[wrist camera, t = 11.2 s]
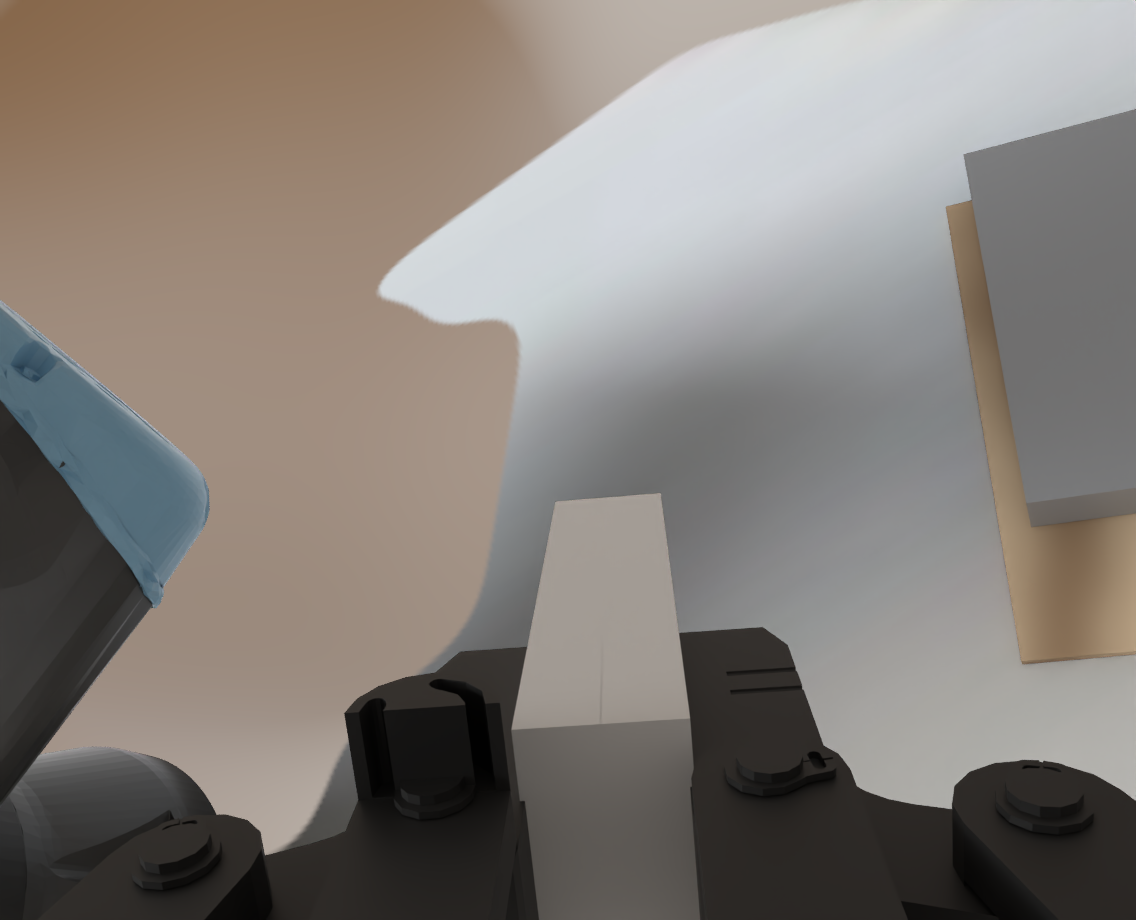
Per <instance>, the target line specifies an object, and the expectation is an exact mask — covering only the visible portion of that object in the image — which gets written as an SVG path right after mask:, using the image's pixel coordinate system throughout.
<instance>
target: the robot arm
mask: <svg viewBox="0 0 1136 920" xmlns="http://www.w3.org/2000/svg"><path fill="white" fill-rule="evenodd" d="M208 514H209V490H208V486H207V484H206V481H205V479H204V477H203V475H202V473H201V472H200V470H199V469H198V468H197V466H196V465H194V463H193V462H192V461H191V460H190V459H189V458H188V457H187V456H186V455H184V454H183V453H182V452H181V451H180V450H179V449H178V448H177V447H175V446H174V445H173V444H172V443H171V442H170V441H169V440H168V439H167V438H165V437H164V436H163V435H162V434H161V433H160V432H159V431H157V430H156V429H155V428H154V427H153V426H151V425H150V424H149V423H148V422H147V421H146V420H145V419H143V418H142V417H141V416H140V415H139V414H137V413H136V412H135V411H134V410H133V409H131V408H130V407H129V406H128V405H127V404H126V403H125V402H123V401H122V400H121V399H120V398H119V397H117V396H116V395H115V394H114V393H113V392H111V391H110V390H109V389H108V388H107V387H106V386H104V385H103V384H102V383H101V382H100V381H98V380H97V379H96V378H95V377H94V376H92V375H91V374H90V373H89V372H88V371H86V370H85V369H84V368H82V367H81V366H80V365H79V364H77V362H75V361H74V360H73V359H72V358H70V357H69V356H68V355H67V354H66V353H64V352H63V351H62V350H61V349H60V348H58V347H57V346H56V345H55V344H54V343H52V342H51V341H50V340H49V339H48V338H47V337H45V336H44V335H43V334H42V333H40V332H39V331H38V330H37V329H36V328H34V327H33V326H32V325H31V324H29V323H28V322H27V321H26V320H25V319H23V318H22V317H21V316H20V315H18V314H17V313H16V312H15V311H13V310H12V309H11V308H10V307H9V306H7V305H6V304H5V303H4V302H2V301H1V300H0V920H1136V801H1135V800H1134V799H1132V798H1131V797H1130V796H1128V795H1127V794H1126V793H1124V792H1123V791H1122V790H1120V789H1119V788H1117V787H1115V786H1113V785H1111V784H1110V783H1108V782H1106V781H1104V780H1103V779H1101V778H1099V777H1097V776H1096V775H1094V774H1090V773H1087V772H1084V771H1080V770H1077V769H1074V768H1071V767H1067V766H1065V765H1063V764H1059V763H1054V762H1047V761H1043V762H1039V760H1020V761H1015V762H1003V763H994V764H991V765H988V766H985V767H982V768H980V769H977V770H974V771H971V772H969V773H968V774H967V775H966V776H965V777H964V778H963V779H962V780H960V781H959V782H958V783H957V784H956V785H955V787H954V794H953V802H952V809H945V808H938V807H930V806H922V805H915V804H909V803H904V802H899V801H894V800H889V799H886V798H883V797H880V796H877V795H874V794H872V793H869V792H866V791H864V790H862V789H860V788H859V787H857V786H856V783H855V780H854V778H853V775H852V773H851V770H850V768H849V767H848V766H847V764H846V763H845V762H844V760H843V759H842V758H841V757H840V755H839V754H838V753H836V752H834V751H832V750H831V749H829V748H827V747H825V746H823V743H822V740H821V737H820V734H819V732H818V729H817V726H816V723H815V720H814V718H813V715H812V712H811V709H810V706H809V704H808V701H807V698H806V695H805V692H804V690H802V684H801V681H800V678H799V676H798V673H797V671H796V669H795V665H794V662H793V659H792V656H791V653H790V651H789V648H788V645H787V644H785V643H784V642H783V641H781V640H780V639H778V638H777V637H776V636H774V635H773V634H771V633H770V632H768V631H767V630H766V629H764V628H763V627H759V628H745V629H731V630H716V631H702V632H688V633H679V630H678V622H677V615H676V607H675V599H674V592H673V584H672V576H671V569H670V561H669V554H668V546H667V538H666V531H665V523H664V515H663V508H662V500H661V493H655V494H643V495H630V496H617V497H605V498H592V499H579V500H567V501H555V506H554V511H553V516H552V521H551V526H550V532H549V537H548V542H547V547H546V552H545V558H544V563H543V568H542V573H541V578H540V583H539V589H538V594H537V599H536V604H535V609H534V615H533V620H532V625H531V630H530V635H529V641H528V646H527V647H521V648H507V649H492V650H478V651H464V652H459V653H458V654H457V655H456V656H455V657H453V658H452V659H451V660H450V661H449V662H448V663H446V664H445V665H444V666H443V667H442V668H440V669H439V670H438V671H437V672H436V673H430V674H424V675H417V676H411V677H405V678H402V679H399V680H396V681H393V682H390V683H387V684H384V685H381V686H378V687H377V688H375V689H373V690H371V691H370V692H368V693H366V694H365V695H363V696H361V697H359V698H358V699H357V700H356V701H355V702H354V703H353V704H352V705H351V706H350V707H349V709H348V710H347V711H346V712H345V713H344V714H345V720H346V727H347V733H348V739H349V745H350V751H351V757H352V764H353V770H354V776H355V782H356V788H357V794H358V802H357V805H356V807H355V810H354V812H353V815H352V817H351V819H350V822H349V824H348V827H347V829H346V831H345V832H343V833H340V834H338V835H336V836H334V837H331V838H328V839H325V840H322V841H319V842H315V843H312V844H309V845H305V846H301V847H297V848H293V849H289V850H285V851H281V852H277V853H273V854H270V855H266V856H265V854H264V849H263V843H262V839H261V833H260V831H259V830H257V829H256V828H255V827H254V826H253V825H252V824H251V823H250V822H249V821H248V820H245V819H241V818H237V817H233V816H229V815H216V813H215V811H214V809H213V807H212V805H211V803H210V802H209V800H208V799H207V797H206V795H205V794H204V793H203V791H202V790H201V789H200V787H199V786H198V785H197V784H196V783H195V782H194V781H193V780H192V779H191V778H190V777H189V776H188V775H187V774H186V773H184V772H183V771H182V770H180V769H179V768H177V767H176V766H174V765H173V764H171V763H169V762H167V761H164V760H162V759H159V758H156V757H152V756H148V755H144V754H140V753H135V752H131V751H127V750H122V749H118V748H111V747H82V748H75V749H69V750H63V751H57V752H51V753H45V754H40V753H41V752H42V751H43V749H44V748H45V747H46V745H47V744H48V743H49V741H50V740H51V739H52V737H53V736H54V735H55V733H56V732H57V731H58V730H59V728H60V727H61V725H62V724H63V723H64V722H65V720H66V719H67V718H68V716H69V715H70V714H71V712H72V711H73V710H74V708H75V707H76V706H77V704H78V703H79V702H80V700H81V699H82V698H83V696H84V695H85V694H86V693H87V691H88V690H89V689H90V687H91V686H92V685H93V683H94V682H95V681H96V679H97V678H98V676H99V675H100V674H101V673H102V671H103V670H104V669H105V667H106V666H107V665H108V663H109V662H110V661H111V660H112V658H113V657H114V655H115V654H116V653H117V651H118V650H119V649H120V648H121V646H122V645H123V644H124V642H125V641H126V640H127V638H128V637H129V636H130V634H131V633H132V632H133V630H134V629H135V627H137V625H138V624H139V623H140V621H141V620H142V619H143V617H144V616H145V615H146V613H147V612H148V611H149V609H150V608H157V606H158V605H159V604H160V603H161V599H162V597H163V595H164V589H163V587H164V586H165V584H166V582H167V581H168V580H169V578H170V577H171V575H172V574H173V572H174V571H175V569H176V568H177V566H178V565H179V564H180V562H181V561H182V559H183V558H184V556H185V555H186V553H187V552H188V550H189V549H190V547H191V546H192V544H193V543H194V541H195V540H196V539H197V537H198V536H199V534H200V533H201V531H202V530H203V527H204V525H205V523H206V520H207V518H208Z"/></svg>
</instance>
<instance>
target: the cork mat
mask: <svg viewBox="0 0 1136 920" xmlns="http://www.w3.org/2000/svg"><path fill="white" fill-rule="evenodd" d="M946 211H947V217H948V223H949V229H950V235H951V241H952V247H953V253H954V259H955V265H956V271H957V277H958V283H959V289H960V295H961V301H962V307H963V313H964V319H965V325H966V331H967V337H968V343H969V349H970V355H971V361H972V367H973V373H974V379H975V385H976V391H977V397H978V404H979V410H980V416H981V422H982V428H983V434H984V440H985V446H986V452H987V458H988V464H989V470H990V476H991V482H992V488H993V494H994V500H995V506H996V512H997V518H998V524H999V530H1000V536H1001V542H1002V548H1003V554H1004V560H1005V566H1006V572H1007V578H1008V584H1009V590H1010V596H1011V602H1012V608H1013V614H1014V620H1015V626H1016V632H1017V638H1018V644H1019V650H1020V656H1021V662H1022V664H1031V663H1042V662H1053V661H1065V660H1076V659H1088V658H1099V657H1110V656H1122V655H1133V654H1136V513H1135V514H1127V515H1120V516H1112V517H1105V518H1097V519H1090V520H1082V521H1075V522H1067V523H1060V524H1052V525H1044V526H1037V527H1031V524H1030V519H1029V514H1028V509H1027V504H1026V499H1025V493H1024V488H1023V482H1022V477H1021V471H1020V466H1019V460H1018V454H1017V449H1016V443H1015V438H1014V432H1013V427H1012V421H1011V415H1010V410H1009V404H1008V399H1007V393H1006V388H1005V382H1004V376H1003V371H1002V365H1001V360H1000V354H999V349H998V343H997V337H996V332H995V326H994V321H993V315H992V310H991V304H990V299H989V293H988V287H987V282H986V276H985V271H984V265H983V260H982V254H981V248H980V243H979V237H978V232H977V226H976V221H975V215H974V209H973V204H972V200H971V201H967V202H963V203H959V204H955V205H951V206H947V207H946Z"/></svg>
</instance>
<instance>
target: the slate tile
mask: <svg viewBox="0 0 1136 920" xmlns="http://www.w3.org/2000/svg"><path fill="white" fill-rule="evenodd" d="M964 159H965V165H966V170H967V176H968V182H969V187H970V193H971V198H972V204H973V209H974V215H975V221H976V226H977V232H978V237H979V243H980V248H981V254H982V260H983V265H984V271H985V276H986V282H987V287H988V293H989V299H990V304H991V310H992V315H993V321H994V326H995V332H996V337H997V343H998V349H999V354H1000V360H1001V365H1002V371H1003V376H1004V382H1005V388H1006V393H1007V399H1008V404H1009V410H1010V415H1011V421H1012V427H1013V432H1014V438H1015V443H1016V449H1017V454H1018V460H1019V466H1020V471H1021V477H1022V482H1023V488H1024V493H1025V499H1026V504H1027V509H1028V514H1029V519H1030V524H1031V527H1037V526H1044V525H1052V524H1060V523H1067V522H1075V521H1082V520H1090V519H1097V518H1105V517H1112V516H1120V515H1127V514H1135V513H1136V109H1135V110H1131V111H1128V112H1124V113H1120V114H1116V115H1112V116H1109V117H1105V118H1101V119H1097V120H1093V121H1090V122H1086V123H1082V124H1078V125H1074V126H1070V127H1067V128H1063V129H1059V130H1055V131H1051V132H1048V133H1044V134H1040V135H1036V136H1032V137H1028V138H1025V139H1021V140H1017V141H1013V142H1009V143H1006V144H1002V145H998V146H994V147H990V148H986V149H983V150H979V151H975V152H971V153H967V154H964Z"/></svg>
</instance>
